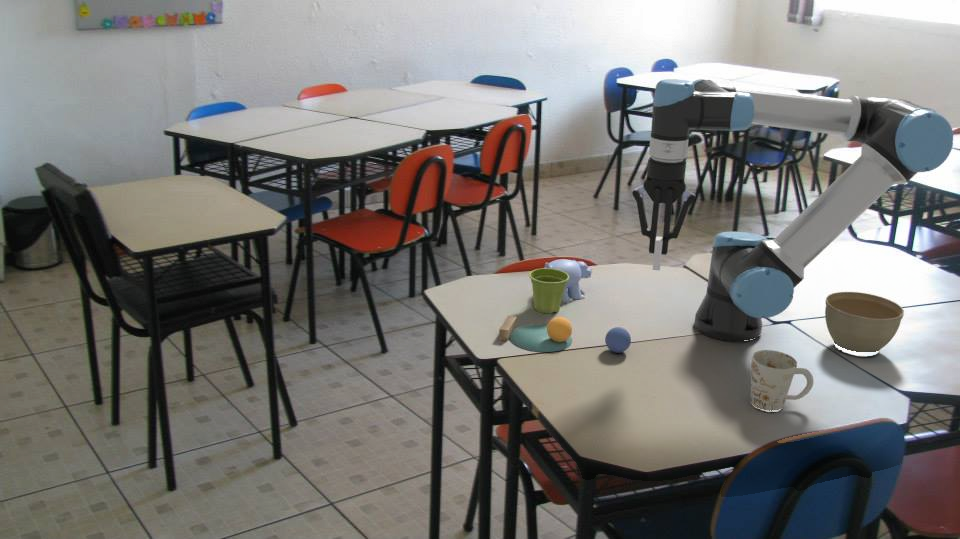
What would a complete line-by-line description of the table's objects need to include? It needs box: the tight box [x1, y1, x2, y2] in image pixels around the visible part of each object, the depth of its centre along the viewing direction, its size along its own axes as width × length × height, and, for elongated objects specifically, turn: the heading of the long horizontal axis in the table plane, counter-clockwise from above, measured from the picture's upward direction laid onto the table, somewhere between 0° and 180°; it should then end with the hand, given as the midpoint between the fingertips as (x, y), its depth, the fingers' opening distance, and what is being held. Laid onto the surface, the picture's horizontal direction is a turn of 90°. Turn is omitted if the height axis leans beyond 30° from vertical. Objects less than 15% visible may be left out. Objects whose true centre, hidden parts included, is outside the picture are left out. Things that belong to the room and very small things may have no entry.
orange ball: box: [547, 316, 573, 342], centre depth 200 cm, size 6×6×6 cm
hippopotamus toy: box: [543, 258, 593, 303], centre depth 227 cm, size 11×15×10 cm
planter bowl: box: [824, 291, 905, 352], centre depth 202 cm, size 16×16×11 cm
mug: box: [750, 349, 814, 411], centre depth 176 cm, size 8×13×10 cm, turn 95°
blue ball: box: [604, 326, 632, 354], centre depth 196 cm, size 6×6×6 cm
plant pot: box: [528, 267, 569, 314], centre depth 216 cm, size 9×9×9 cm
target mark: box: [509, 324, 573, 353], centre depth 202 cm, size 14×14×1 cm
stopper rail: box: [498, 315, 517, 342], centre depth 203 cm, size 2×8×2 cm, turn 165°
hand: (656, 267), depth 192 cm, fingers closed
